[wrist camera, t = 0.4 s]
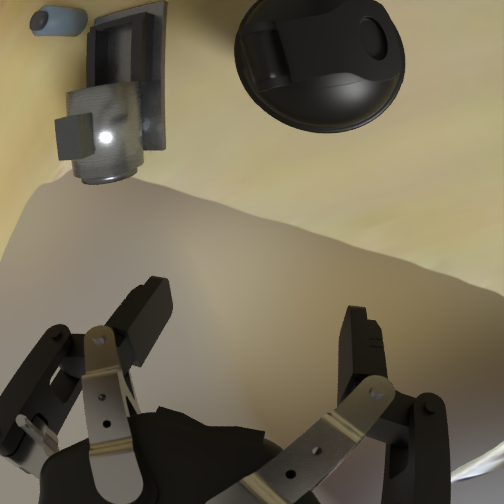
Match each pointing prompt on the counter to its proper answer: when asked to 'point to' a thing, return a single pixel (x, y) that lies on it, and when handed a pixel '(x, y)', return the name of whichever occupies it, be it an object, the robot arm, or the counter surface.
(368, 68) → the water bottle
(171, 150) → the counter surface
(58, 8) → the blue capped cylinder
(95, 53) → the electric motor
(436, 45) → the counter surface
